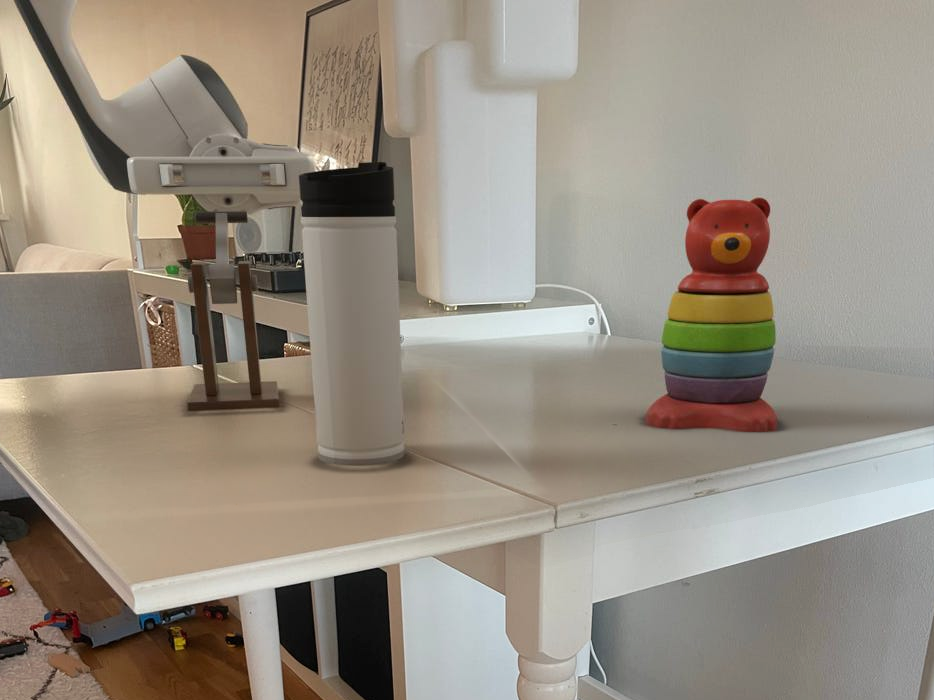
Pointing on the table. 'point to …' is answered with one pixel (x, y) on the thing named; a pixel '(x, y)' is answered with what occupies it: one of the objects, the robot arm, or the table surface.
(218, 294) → the lever
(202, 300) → the brown wooden stand
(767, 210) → the stacking bear
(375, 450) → the travel mug
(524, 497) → the table surface
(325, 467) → the table surface
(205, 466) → the table surface
